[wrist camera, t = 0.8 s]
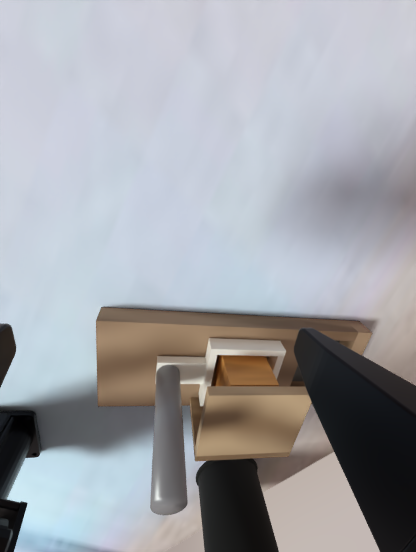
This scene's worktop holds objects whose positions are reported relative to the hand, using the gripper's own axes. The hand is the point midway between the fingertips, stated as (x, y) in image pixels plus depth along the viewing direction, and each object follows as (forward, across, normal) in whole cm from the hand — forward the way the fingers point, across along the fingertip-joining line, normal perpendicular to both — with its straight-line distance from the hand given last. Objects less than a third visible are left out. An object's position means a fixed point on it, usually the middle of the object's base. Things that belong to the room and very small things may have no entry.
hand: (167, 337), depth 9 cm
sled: (+11, -5, +12) cm, 18 cm away
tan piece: (+14, -7, +12) cm, 20 cm away
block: (+12, -7, +12) cm, 18 cm away
